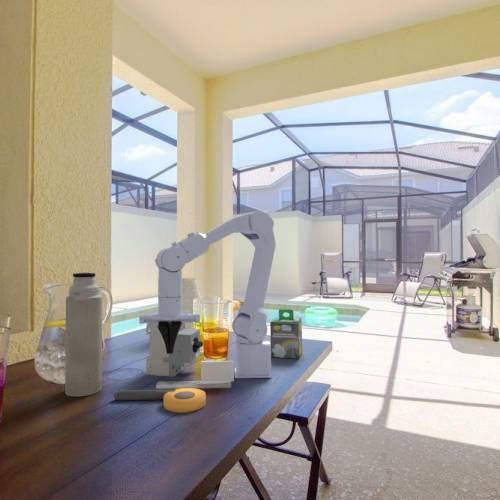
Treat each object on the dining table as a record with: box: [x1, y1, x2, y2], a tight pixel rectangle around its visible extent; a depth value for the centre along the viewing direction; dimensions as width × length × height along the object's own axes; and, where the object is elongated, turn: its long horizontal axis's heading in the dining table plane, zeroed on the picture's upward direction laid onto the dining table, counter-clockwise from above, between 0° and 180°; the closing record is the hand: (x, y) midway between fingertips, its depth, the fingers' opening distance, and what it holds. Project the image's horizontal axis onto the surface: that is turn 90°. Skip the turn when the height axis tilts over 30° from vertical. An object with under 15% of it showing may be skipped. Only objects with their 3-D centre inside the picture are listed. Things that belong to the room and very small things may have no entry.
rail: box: [155, 380, 232, 390], centre depth 91 cm, size 18×2×1 cm, turn 93°
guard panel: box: [200, 360, 235, 382], centre depth 91 cm, size 8×1×5 cm, turn 93°
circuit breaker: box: [145, 323, 204, 378], centre depth 103 cm, size 8×14×15 cm, turn 78°
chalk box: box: [269, 308, 303, 360], centre depth 120 cm, size 9×9×15 cm
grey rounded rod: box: [113, 389, 176, 401], centre depth 83 cm, size 14×2×2 cm, turn 93°
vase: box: [182, 277, 202, 329], centre depth 147 cm, size 17×17×23 cm
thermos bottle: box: [64, 272, 103, 398], centre depth 89 cm, size 8×8×28 cm
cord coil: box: [162, 388, 207, 414], centre depth 80 cm, size 9×9×2 cm
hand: (170, 352), depth 91 cm, fingers closed
